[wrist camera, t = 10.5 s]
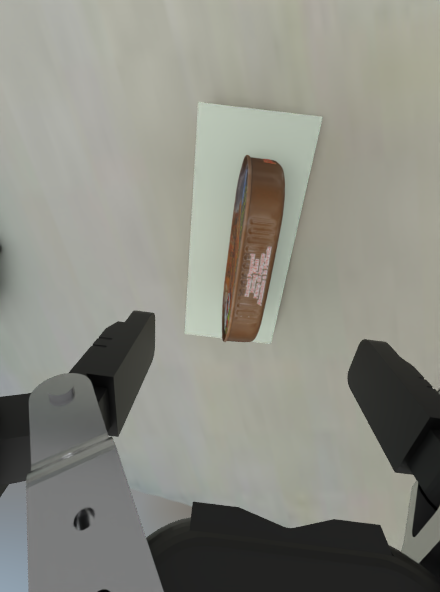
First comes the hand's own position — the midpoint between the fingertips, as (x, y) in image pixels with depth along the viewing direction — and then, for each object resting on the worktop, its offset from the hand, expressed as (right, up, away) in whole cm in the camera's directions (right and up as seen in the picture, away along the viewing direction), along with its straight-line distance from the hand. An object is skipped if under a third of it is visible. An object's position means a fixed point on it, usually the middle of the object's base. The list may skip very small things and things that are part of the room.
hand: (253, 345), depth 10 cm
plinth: (+1, +9, +20) cm, 22 cm away
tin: (+1, +7, +15) cm, 17 cm away
